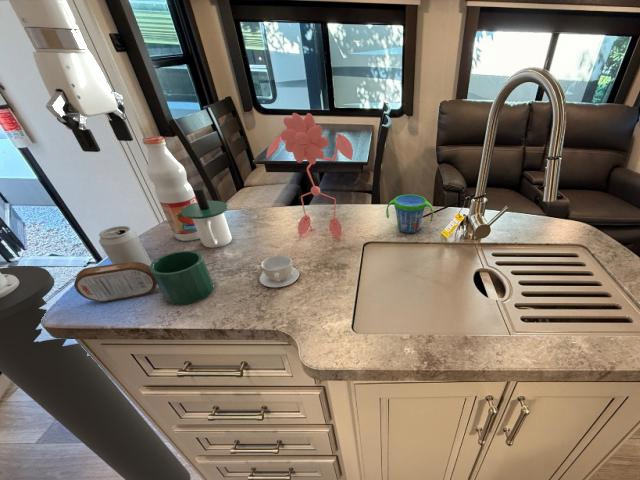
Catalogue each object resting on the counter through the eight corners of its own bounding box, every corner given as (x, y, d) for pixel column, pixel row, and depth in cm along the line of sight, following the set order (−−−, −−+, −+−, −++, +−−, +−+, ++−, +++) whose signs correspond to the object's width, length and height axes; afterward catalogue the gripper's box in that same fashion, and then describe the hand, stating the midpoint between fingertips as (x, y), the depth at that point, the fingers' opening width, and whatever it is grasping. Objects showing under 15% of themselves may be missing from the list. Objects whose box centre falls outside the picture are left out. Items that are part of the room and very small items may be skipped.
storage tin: (201, 305, 74) (187, 275, 69) (156, 304, 74) (138, 273, 69) (221, 280, 82) (210, 251, 77) (180, 279, 82) (167, 249, 77)
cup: (232, 233, 103) (222, 203, 96) (232, 251, 94) (221, 218, 88) (203, 237, 100) (191, 206, 94) (201, 256, 91) (187, 223, 85)
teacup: (261, 269, 87) (257, 254, 84) (299, 265, 89) (296, 250, 86) (258, 291, 79) (253, 275, 76) (299, 286, 81) (296, 270, 78)
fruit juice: (189, 226, 106) (151, 133, 88) (215, 230, 104) (181, 135, 87) (168, 239, 98) (121, 140, 81) (195, 243, 97) (154, 143, 80)
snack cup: (382, 232, 106) (382, 202, 100) (391, 219, 114) (391, 191, 108) (428, 239, 104) (431, 208, 97) (434, 225, 112) (437, 197, 105)
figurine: (289, 226, 108) (265, 106, 86) (363, 234, 105) (357, 112, 83) (266, 247, 96) (232, 114, 75) (349, 257, 93) (338, 121, 71)
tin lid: (217, 221, 86) (208, 197, 82) (174, 220, 86) (163, 195, 82) (235, 205, 95) (228, 182, 91) (196, 203, 95) (187, 181, 91)
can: (156, 275, 83) (133, 233, 76) (121, 284, 80) (94, 240, 72) (153, 262, 88) (132, 221, 81) (120, 270, 84) (95, 228, 77)
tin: (164, 286, 79) (149, 256, 74) (162, 293, 77) (146, 263, 72) (90, 299, 75) (68, 269, 69) (86, 307, 72) (62, 276, 67)
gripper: (77, 42, 64) (120, 136, 75) (-12, 40, 50) (57, 155, 61) (114, 44, 64) (153, 137, 75) (36, 42, 50) (96, 157, 61)
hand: (110, 145), depth 68 cm, fingers open, 9 cm apart
